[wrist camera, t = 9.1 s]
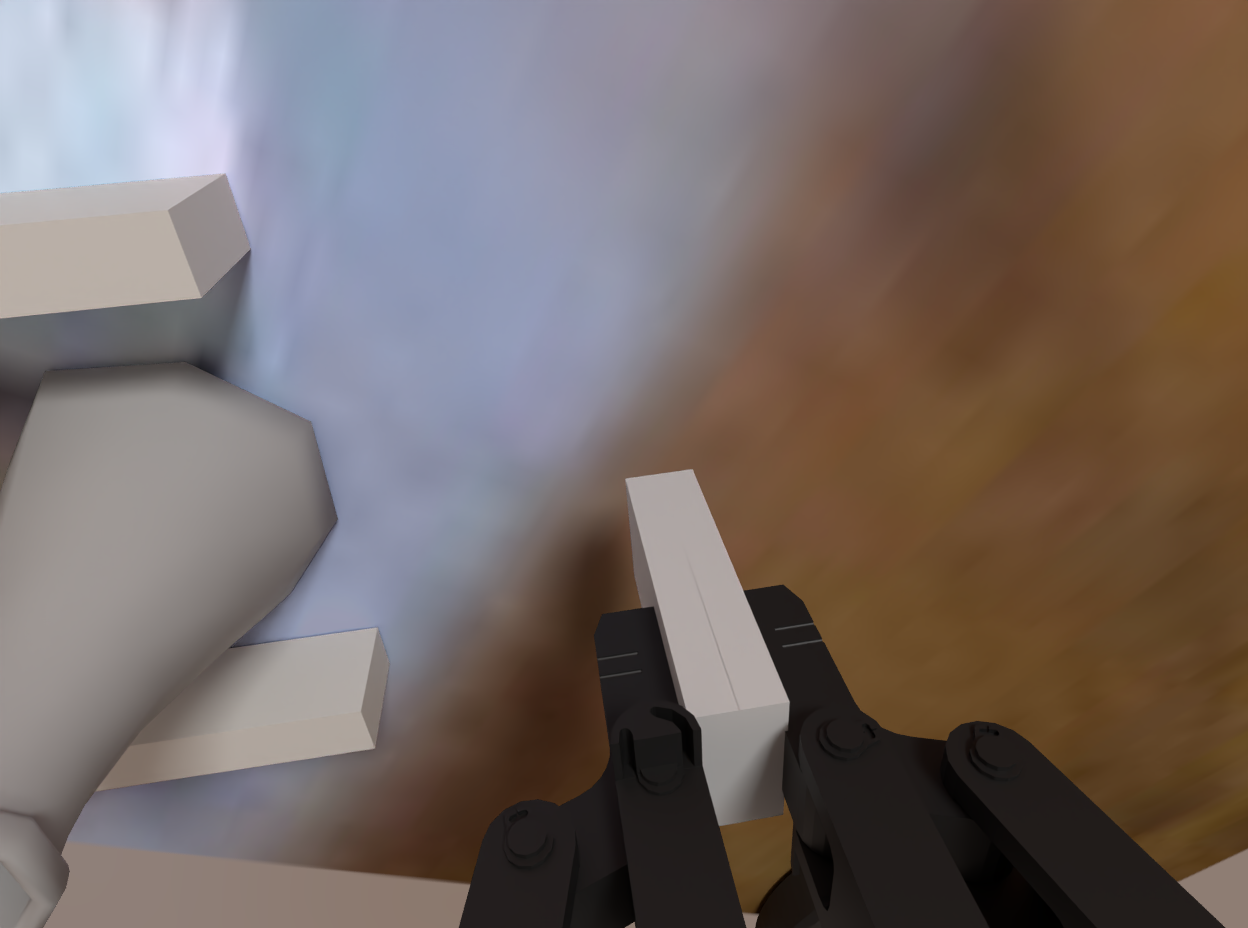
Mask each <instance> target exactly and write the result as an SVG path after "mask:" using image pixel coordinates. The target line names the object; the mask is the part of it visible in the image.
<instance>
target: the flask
mask: <svg viewBox="0 0 1248 928" xmlns="http://www.w3.org/2000/svg"><path fill="white" fill-rule="evenodd" d="M337 519H338V518H337V514H336V511H335V507H334V504H333V500H332V496H331V493H330V489H329V485H328V482H327V478H326V474H325V471H324V467H323V464H322V460H321V456H320V453H319V449H318V445H317V442H316V438H315V434H314V431H313V427H312V424H311V421H308V420H306V419H304V418H302V417H300V416H298V415H296V414H294V413H292V412H290V411H287V410H285V409H283V408H281V407H279V406H277V405H275V404H273V403H271V402H268V401H266V400H264V399H262V398H260V397H258V396H256V395H254V394H252V393H249V392H247V391H245V390H243V389H241V388H239V387H237V386H235V385H233V384H231V383H228V382H226V381H224V380H222V379H220V378H218V377H216V376H214V375H212V374H209V373H207V372H205V371H203V370H201V369H199V368H197V367H195V366H193V365H190V364H188V363H186V362H174V363H158V364H143V365H128V366H113V367H97V368H82V369H67V370H51V371H45V373H44V375H43V378H42V380H41V383H40V386H39V388H38V391H37V393H36V396H35V399H34V401H33V404H32V406H31V409H30V411H29V414H28V417H27V419H26V422H25V424H24V427H23V430H22V432H21V435H20V437H19V440H18V442H17V445H16V448H15V450H14V453H13V455H12V458H11V461H10V463H9V466H8V469H7V472H6V476H5V479H4V482H3V486H2V489H1V493H0V928H43V927H44V925H45V923H46V922H47V920H48V918H49V917H50V915H51V913H52V912H53V910H54V908H55V907H56V905H57V903H58V901H59V900H60V898H61V896H62V894H63V892H64V891H65V888H66V885H67V881H68V876H69V872H70V871H69V867H68V864H67V863H66V861H65V860H64V859H63V857H62V856H61V854H62V851H63V848H64V846H65V843H66V840H67V838H68V835H69V833H70V832H71V830H72V828H73V826H74V824H75V822H76V820H77V819H78V817H79V815H80V813H81V811H82V809H83V807H84V806H85V804H86V803H87V801H88V800H89V799H90V797H91V796H92V795H93V793H94V792H95V791H96V789H97V788H98V787H99V785H100V784H101V783H102V781H103V780H104V779H105V778H106V776H107V775H108V774H109V772H110V771H111V770H112V768H113V767H114V766H115V764H116V763H117V762H118V760H119V759H120V758H121V756H122V755H123V754H124V752H125V751H126V750H127V748H128V747H129V746H130V744H131V743H132V742H133V740H134V739H135V738H136V737H137V735H138V734H139V733H140V731H141V730H142V729H143V728H144V727H146V726H147V725H148V724H149V723H150V722H151V721H152V720H153V719H154V718H155V717H156V716H157V715H158V714H159V713H160V712H161V711H162V710H163V709H164V708H165V707H166V706H167V705H169V704H170V703H171V702H172V701H173V700H174V699H175V698H176V697H177V696H178V695H179V694H180V693H181V692H182V691H183V690H184V689H185V688H186V687H187V686H188V685H189V684H191V683H192V682H193V681H194V680H195V679H196V678H197V677H198V676H199V675H200V674H201V673H202V672H203V671H204V670H205V669H206V668H207V667H208V666H209V665H210V664H211V663H213V662H214V661H215V660H216V659H217V658H218V657H219V656H220V655H221V654H222V653H223V652H225V651H226V650H227V649H228V648H229V647H230V646H231V645H233V644H234V643H235V642H236V641H237V640H238V639H240V638H241V637H242V636H243V635H244V634H245V633H246V632H248V631H249V630H250V629H251V628H252V627H253V626H255V625H256V624H257V623H258V622H259V621H260V620H262V619H263V618H264V617H265V616H266V615H267V614H268V613H270V612H271V611H272V610H273V609H274V608H275V607H276V606H277V605H278V604H279V603H280V602H281V601H283V600H284V599H285V598H286V597H287V596H288V595H289V594H290V593H291V592H292V590H293V589H294V587H295V585H296V584H297V582H298V581H299V579H300V578H301V576H302V574H303V573H304V571H305V570H306V568H307V566H308V565H309V563H310V562H311V560H312V559H313V557H314V555H315V554H316V552H317V551H318V549H319V548H320V546H321V544H322V543H323V541H324V540H325V538H326V537H327V535H328V533H329V532H330V530H331V529H332V527H333V526H334V524H335V522H336V521H337Z"/></svg>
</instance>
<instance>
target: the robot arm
mask: <svg viewBox="0 0 1248 928" xmlns="http://www.w3.org/2000/svg"><path fill="white" fill-rule="evenodd" d="M626 490H627V501H628V512H629V523H630V534H631V545H632V556H633V567H634V576H635V580H636V584H637V589H638V593H639V597H640V601H641V606H642V608H640V609H633V610H627V611H620V612H614V613H607V614H602V616H601V619H600V621H599V624H598V626H597V629H596V632H595V634H594V639H595V646H596V653H597V661H598V668H599V675H600V683H601V690H602V697H603V704H604V711H605V718H606V725H607V732H608V739H609V746H610V758H609V761H608V765H607V768H606V770H605V771H604V773H603V775H602V776H601V778H600V779H599V780H598V781H597V782H596V783H595V784H594V785H593V787H592V788H590V789H589V790H587V791H586V792H584V793H583V794H581V795H580V796H578V797H576V798H574V799H572V800H570V801H568V802H566V803H564V804H562V805H561V806H557V805H556V804H555V803H551V802H547V801H543V800H539V799H537V800H530V801H522V802H519V803H517V804H515V805H513V806H511V807H509V808H507V809H505V810H504V811H503V812H502V813H501V814H500V815H499V816H498V817H497V818H496V819H495V820H494V821H493V822H492V823H491V824H490V826H489V828H488V830H487V832H486V834H485V836H484V838H483V841H482V844H481V848H480V852H479V855H478V859H477V863H476V866H475V870H474V874H473V877H472V881H471V885H470V889H469V892H468V896H467V900H466V903H465V907H464V911H463V914H462V918H461V922H460V926H459V928H625V927H626V926H628V925H630V924H631V923H633V922H635V927H636V928H746V925H745V921H744V918H743V914H742V910H741V906H740V903H739V899H738V895H737V892H736V888H735V884H734V880H733V877H732V873H731V869H730V866H729V862H728V858H727V854H726V851H725V847H724V843H723V839H722V836H721V832H720V828H719V826H722V825H728V824H733V823H739V822H745V821H750V820H756V819H761V818H767V817H773V816H778V815H783V807H784V797H785V800H786V802H787V805H788V808H789V811H790V813H791V816H792V819H793V836H792V851H791V867H792V873H791V874H790V875H789V876H788V877H787V878H786V879H785V880H784V881H783V882H781V884H780V885H779V886H778V887H777V888H776V889H775V890H774V891H773V893H772V894H771V895H770V896H769V898H768V899H767V901H766V902H765V904H764V905H763V907H762V909H761V911H760V913H759V916H758V919H757V922H756V927H755V928H1225V927H1224V926H1223V925H1222V924H1221V923H1220V922H1219V921H1218V920H1217V919H1216V918H1215V917H1214V916H1212V915H1211V914H1210V913H1209V912H1208V911H1207V910H1206V909H1205V908H1204V907H1203V906H1202V905H1201V904H1200V903H1199V902H1198V901H1197V900H1196V899H1195V898H1194V897H1192V896H1191V895H1190V894H1189V893H1188V892H1187V891H1186V890H1185V889H1184V888H1183V887H1182V886H1181V885H1180V884H1179V883H1178V882H1177V881H1176V880H1175V879H1173V878H1172V877H1171V876H1170V875H1169V874H1168V873H1167V872H1166V871H1165V870H1164V869H1163V868H1162V867H1161V866H1160V865H1159V864H1158V863H1157V862H1156V861H1154V860H1153V859H1152V858H1151V857H1150V856H1149V855H1148V854H1147V853H1146V852H1145V851H1144V850H1143V849H1142V848H1141V847H1140V846H1139V845H1138V844H1137V843H1136V842H1134V841H1133V840H1132V839H1131V838H1130V837H1129V836H1128V835H1127V834H1126V833H1125V832H1124V831H1123V830H1122V829H1121V828H1120V827H1119V826H1118V825H1117V824H1115V823H1114V822H1113V821H1112V820H1111V819H1110V818H1109V817H1108V816H1107V815H1106V814H1105V813H1104V812H1103V811H1102V810H1101V809H1100V808H1099V807H1098V806H1096V805H1095V804H1094V803H1093V802H1092V801H1091V800H1090V799H1089V798H1088V797H1087V796H1086V795H1085V794H1084V793H1083V792H1082V791H1081V790H1080V789H1079V788H1077V787H1076V786H1075V785H1074V784H1073V783H1072V782H1071V781H1070V780H1069V779H1068V778H1067V777H1066V776H1065V775H1064V774H1063V773H1062V772H1061V771H1060V770H1059V769H1057V768H1056V767H1055V766H1054V765H1053V764H1052V763H1051V762H1050V761H1049V760H1048V759H1047V758H1046V757H1045V756H1044V755H1043V754H1042V753H1041V752H1040V751H1038V750H1037V749H1036V748H1035V747H1034V746H1033V745H1032V744H1031V743H1030V742H1029V741H1027V740H1026V739H1025V738H1023V737H1022V736H1020V735H1019V734H1018V733H1016V732H1015V731H1014V730H1011V729H1009V728H1006V727H1003V726H1001V725H998V724H996V723H989V722H980V721H975V722H970V723H965V724H961V725H960V726H958V727H957V728H956V729H954V730H953V731H952V732H950V734H949V737H948V740H947V741H943V740H934V739H926V738H917V737H910V736H905V735H900V734H896V733H893V732H891V731H888V730H886V729H884V728H882V727H881V726H880V725H879V724H878V723H877V721H875V720H874V719H872V718H871V717H869V716H868V715H866V714H865V713H863V712H862V711H860V709H859V708H858V706H857V705H856V703H855V702H854V700H853V698H852V696H851V694H850V692H849V690H848V688H847V686H846V684H845V682H844V680H843V678H842V676H841V674H840V672H839V671H838V669H837V667H836V665H835V663H834V661H833V659H832V657H831V655H830V653H829V651H828V649H827V647H826V645H825V643H824V642H822V637H821V635H820V634H819V632H818V630H817V628H816V626H814V624H813V620H812V618H811V616H810V614H809V612H808V610H807V608H806V606H805V604H804V602H803V601H802V600H801V599H800V598H799V597H797V596H796V595H795V594H794V593H793V592H791V591H790V590H789V589H788V588H787V587H785V586H784V585H778V586H771V587H765V588H758V589H752V590H745V591H743V589H742V587H741V584H740V582H739V580H738V577H737V575H736V573H735V570H734V568H733V565H732V563H731V561H730V558H729V556H728V553H727V551H726V549H725V546H724V544H723V541H722V539H721V537H720V534H719V532H718V530H717V527H716V525H715V522H714V520H713V518H712V515H711V513H710V510H709V508H708V506H707V503H706V501H705V498H704V496H703V494H702V491H701V489H700V486H699V484H698V482H697V479H696V477H695V475H694V472H693V470H692V469H691V470H684V471H677V472H670V473H663V474H656V475H649V476H641V477H634V478H627V479H626Z"/></svg>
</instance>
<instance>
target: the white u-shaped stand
mask: <svg viewBox="0 0 1248 928" xmlns="http://www.w3.org/2000/svg"><path fill="white" fill-rule="evenodd" d="M250 249H251V248H250V245H249V242H248V239H247V236H246V233H245V230H244V227H243V224H242V221H241V218H240V215H239V212H238V209H237V206H236V203H235V200H234V197H233V194H232V192H231V189H230V186H229V183H228V180H227V177H226V174H213V175H202V176H191V177H180V178H168V179H157V180H146V181H135V182H123V183H112V184H101V185H89V186H78V187H67V188H56V189H44V190H33V191H22V192H11V193H0V319H1V318H10V317H20V316H30V315H40V314H50V313H59V312H69V311H79V310H89V309H99V308H108V307H118V306H128V305H138V304H148V303H157V302H167V301H177V300H187V299H197V298H202V297H203V296H204V295H205V294H206V293H207V292H208V291H209V290H210V289H211V288H212V287H213V286H214V285H215V284H216V283H217V282H218V281H219V280H220V279H221V278H222V277H223V276H224V275H225V274H226V273H227V272H228V271H229V270H230V269H231V268H232V267H233V266H234V265H235V264H236V263H237V262H238V261H239V260H240V259H241V258H242V257H243V256H244V255H245V254H246V253H247V252H248V251H249V250H250ZM389 664H390V663H389V660H388V657H387V654H386V651H385V648H384V645H383V642H382V639H381V636H380V633H379V630H378V628H371V629H363V630H356V631H349V632H342V633H335V634H328V635H321V636H314V637H306V638H299V639H292V640H285V641H278V642H271V643H264V644H257V645H249V646H242V647H235V648H228V649H227V650H226V651H225V652H223V653H222V654H221V655H220V656H219V657H218V658H217V659H216V660H215V661H214V662H213V663H211V664H210V665H209V666H208V667H207V668H206V669H205V670H204V671H203V672H202V673H201V674H200V675H199V676H198V677H197V678H196V679H195V680H194V681H193V682H192V683H191V684H189V685H188V686H187V687H186V688H185V689H184V690H183V691H182V692H181V693H180V694H179V695H178V696H177V697H176V698H175V699H174V700H173V701H172V702H171V703H170V704H169V705H167V706H166V707H165V708H164V709H163V710H162V711H161V712H160V713H159V714H158V715H157V716H156V717H155V718H154V719H153V720H152V721H151V722H150V723H149V724H148V725H147V726H146V727H144V728H143V729H142V730H141V731H140V733H139V734H138V735H137V737H136V738H135V739H134V740H133V742H132V743H131V744H130V746H129V747H128V748H127V750H126V751H125V752H124V754H123V755H122V756H121V758H120V759H119V760H118V762H117V763H116V764H115V766H114V767H113V768H112V770H111V771H110V772H109V774H108V775H107V776H106V778H105V779H104V780H103V781H102V783H101V784H100V785H99V787H98V788H97V789H96V791H102V790H108V789H115V788H121V787H128V786H134V785H141V784H147V783H154V782H160V781H167V780H173V779H180V778H186V777H193V776H199V775H206V774H212V773H219V772H225V771H232V770H238V769H245V768H251V767H258V766H264V765H271V764H277V763H284V762H290V761H297V760H303V759H310V758H316V757H323V756H329V755H336V754H343V753H349V752H356V751H362V750H369V749H375V746H376V740H377V734H378V729H379V723H380V717H381V711H382V705H383V699H384V693H385V688H386V682H387V676H388V670H389Z"/></svg>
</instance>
